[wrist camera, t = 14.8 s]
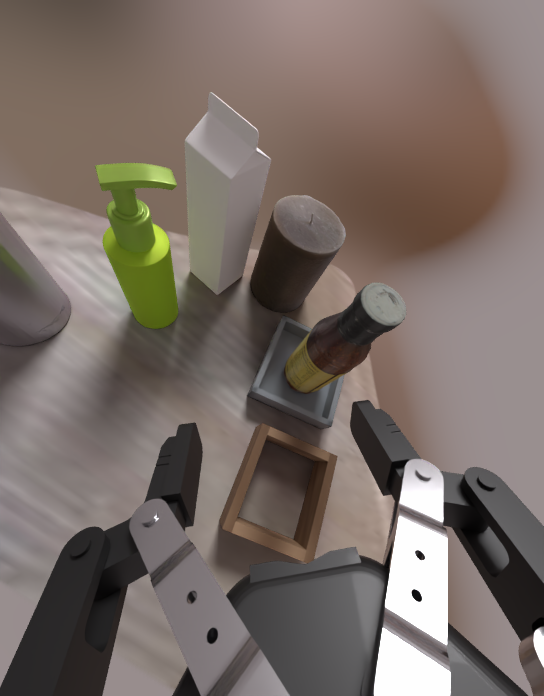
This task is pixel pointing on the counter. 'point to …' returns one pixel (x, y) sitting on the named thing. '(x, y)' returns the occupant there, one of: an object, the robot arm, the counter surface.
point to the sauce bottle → (344, 338)
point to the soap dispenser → (139, 242)
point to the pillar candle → (295, 252)
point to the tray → (277, 391)
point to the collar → (312, 506)
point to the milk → (222, 193)
